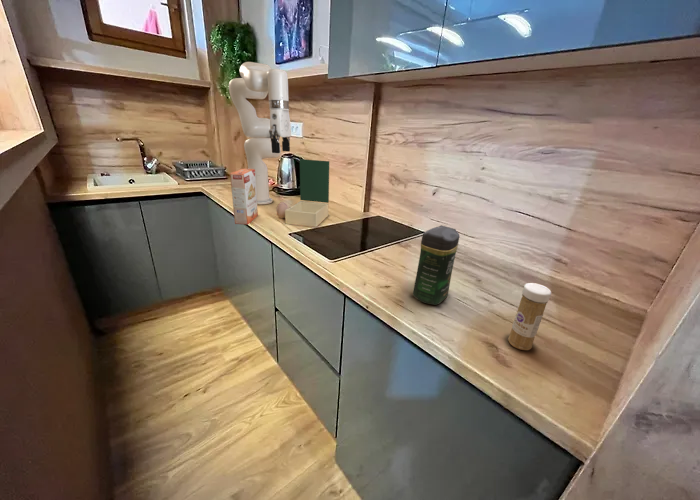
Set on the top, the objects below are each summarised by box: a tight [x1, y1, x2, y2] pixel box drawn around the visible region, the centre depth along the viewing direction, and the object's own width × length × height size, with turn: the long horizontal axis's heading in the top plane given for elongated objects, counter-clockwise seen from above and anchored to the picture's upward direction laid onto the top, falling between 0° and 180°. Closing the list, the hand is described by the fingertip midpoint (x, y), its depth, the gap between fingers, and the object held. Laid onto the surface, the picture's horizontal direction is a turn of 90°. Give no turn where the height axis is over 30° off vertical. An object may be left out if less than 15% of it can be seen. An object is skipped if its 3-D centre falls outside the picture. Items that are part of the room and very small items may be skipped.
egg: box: [276, 201, 289, 219], centre depth 134 cm, size 5×5×7 cm
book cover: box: [299, 158, 330, 204], centre depth 140 cm, size 18×14×6 cm
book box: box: [284, 200, 329, 228], centre depth 134 cm, size 18×14×6 cm
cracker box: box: [229, 168, 259, 226], centre depth 127 cm, size 14×6×21 cm, turn 179°
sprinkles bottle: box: [507, 282, 552, 351], centre depth 60 cm, size 5×5×14 cm
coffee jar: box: [412, 225, 460, 306], centre depth 76 cm, size 10×8×19 cm
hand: (281, 152), depth 125 cm, fingers open, 9 cm apart
